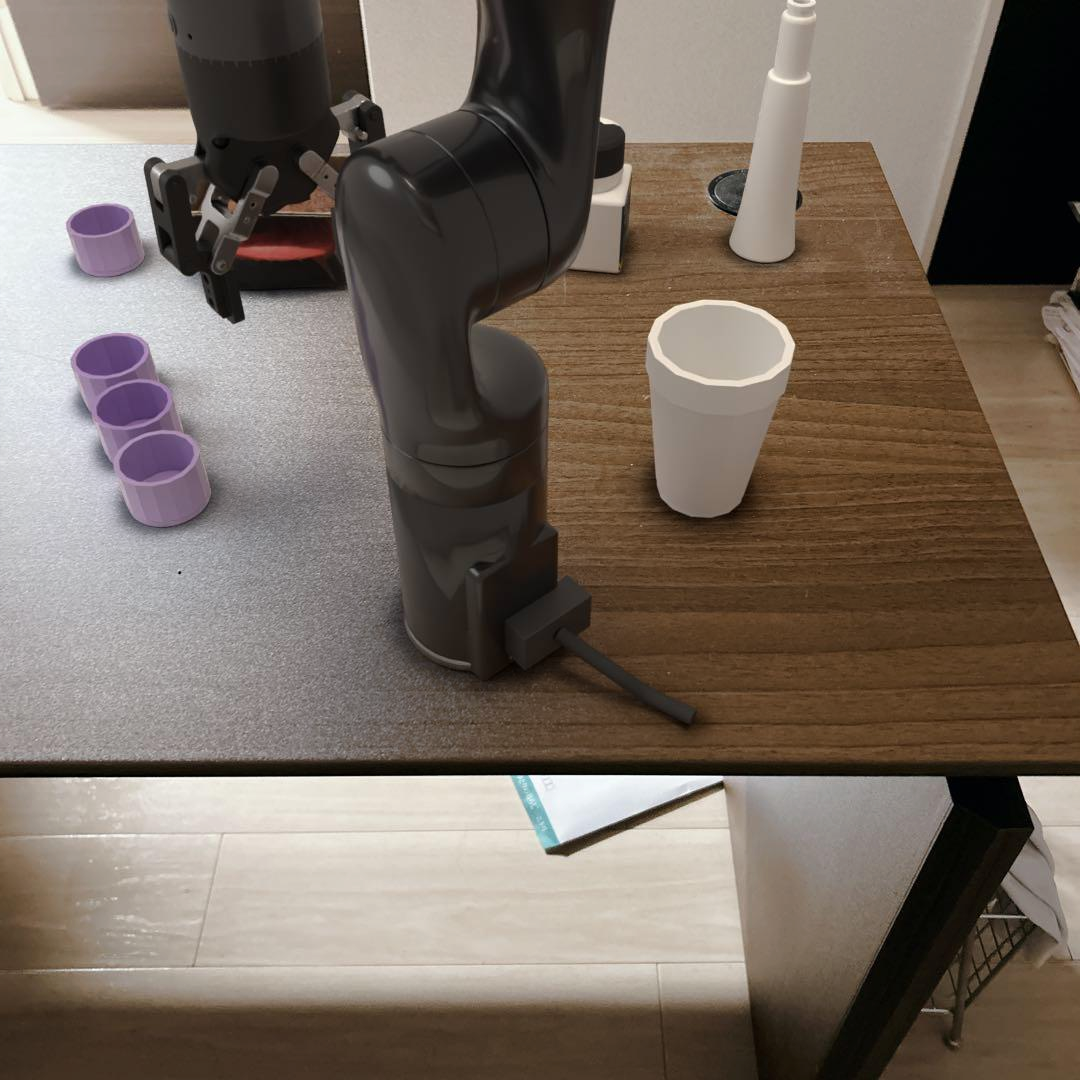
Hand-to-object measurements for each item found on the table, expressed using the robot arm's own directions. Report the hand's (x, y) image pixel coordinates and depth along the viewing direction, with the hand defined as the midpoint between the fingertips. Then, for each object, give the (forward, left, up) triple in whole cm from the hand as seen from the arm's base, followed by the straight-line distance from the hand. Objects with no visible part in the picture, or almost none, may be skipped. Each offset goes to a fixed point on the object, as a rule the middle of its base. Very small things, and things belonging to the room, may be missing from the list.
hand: (293, 290), depth 69 cm
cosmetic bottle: (+2, -49, -17) cm, 52 cm away
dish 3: (+7, +9, -17) cm, 21 cm away
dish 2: (+14, +8, -17) cm, 23 cm away
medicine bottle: (+12, -36, -17) cm, 42 cm away
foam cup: (-17, -21, -17) cm, 32 cm away
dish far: (+39, -2, -17) cm, 43 cm away
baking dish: (+29, -15, -17) cm, 37 cm away
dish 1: (+20, +6, -17) cm, 27 cm away
